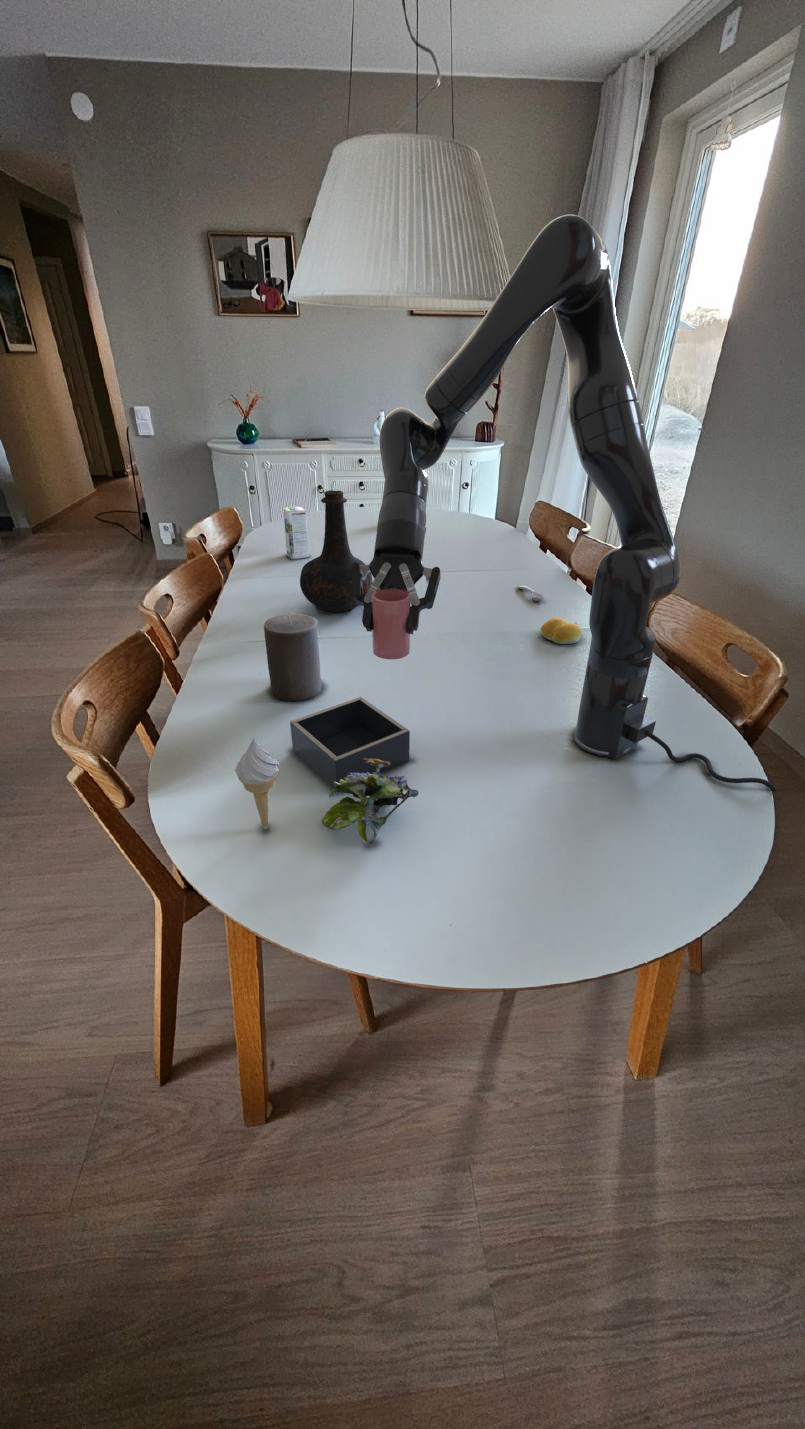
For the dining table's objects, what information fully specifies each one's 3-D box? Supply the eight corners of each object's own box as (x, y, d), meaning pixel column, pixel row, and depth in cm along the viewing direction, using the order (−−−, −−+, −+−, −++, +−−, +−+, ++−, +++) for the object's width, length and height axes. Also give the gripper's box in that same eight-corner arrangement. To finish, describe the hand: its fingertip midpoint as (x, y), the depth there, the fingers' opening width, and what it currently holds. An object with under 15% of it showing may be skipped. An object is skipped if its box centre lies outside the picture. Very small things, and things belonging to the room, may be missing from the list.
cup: (417, 653, 96) (418, 596, 92) (387, 662, 93) (386, 605, 89) (395, 640, 100) (395, 586, 96) (366, 649, 97) (364, 593, 93)
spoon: (535, 603, 159) (536, 595, 159) (515, 591, 170) (515, 584, 169) (545, 602, 160) (546, 594, 159) (525, 590, 170) (525, 583, 170)
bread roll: (566, 648, 136) (569, 631, 134) (534, 636, 142) (536, 619, 140) (589, 638, 141) (591, 622, 139) (556, 627, 146) (559, 611, 144)
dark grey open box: (409, 760, 99) (409, 730, 96) (337, 791, 92) (335, 760, 89) (361, 724, 109) (360, 696, 106) (292, 750, 102) (289, 721, 99)
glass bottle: (295, 598, 162) (285, 486, 148) (360, 590, 168) (356, 481, 153) (311, 623, 148) (302, 501, 133) (382, 613, 153) (380, 495, 139)
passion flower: (378, 835, 92) (424, 773, 89) (381, 879, 82) (433, 810, 79) (312, 799, 89) (358, 734, 86) (307, 839, 79) (358, 767, 76)
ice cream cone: (268, 810, 88) (256, 720, 81) (295, 827, 85) (285, 735, 78) (236, 831, 85) (220, 738, 77) (263, 849, 82) (249, 755, 74)
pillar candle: (273, 704, 114) (264, 629, 107) (268, 681, 122) (260, 609, 115) (326, 698, 117) (320, 623, 109) (318, 675, 125) (312, 604, 117)
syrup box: (286, 554, 196) (281, 507, 188) (304, 552, 198) (300, 505, 190) (291, 559, 191) (287, 511, 184) (309, 557, 193) (306, 509, 186)
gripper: (351, 515, 94) (337, 618, 90) (446, 519, 93) (436, 624, 89) (359, 540, 102) (347, 637, 98) (447, 544, 100) (438, 643, 96)
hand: (389, 630), depth 93 cm, fingers closed on cup, 5 cm apart
